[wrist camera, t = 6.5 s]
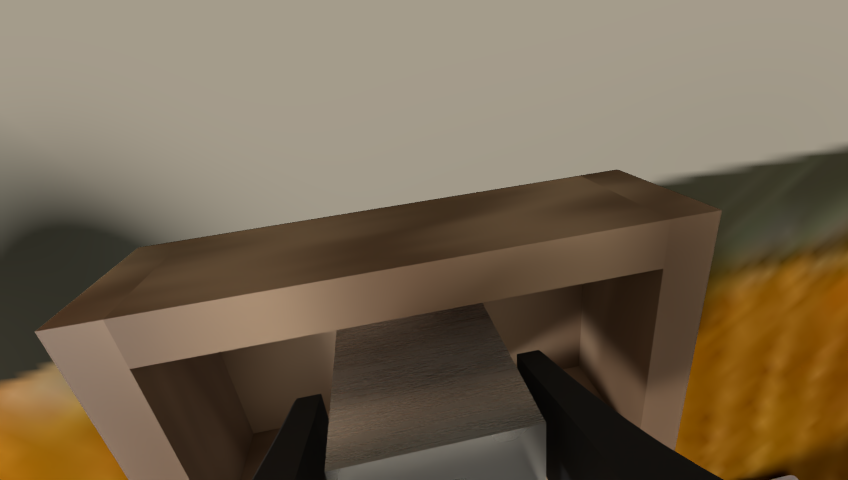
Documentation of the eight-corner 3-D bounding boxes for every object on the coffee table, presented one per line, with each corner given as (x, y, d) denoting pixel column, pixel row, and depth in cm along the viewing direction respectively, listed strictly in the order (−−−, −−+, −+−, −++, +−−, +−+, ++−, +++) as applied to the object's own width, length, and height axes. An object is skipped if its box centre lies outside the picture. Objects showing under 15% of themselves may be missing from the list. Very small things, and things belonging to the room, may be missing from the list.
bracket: (465, 271, 13) (579, 485, 6) (474, 368, 14) (572, 621, 8) (339, 294, 12) (317, 547, 6) (363, 391, 14) (367, 675, 7)
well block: (617, 169, 13) (721, 210, 9) (601, 375, 16) (671, 465, 12) (138, 247, 11) (34, 331, 8) (232, 453, 15) (190, 578, 11)
